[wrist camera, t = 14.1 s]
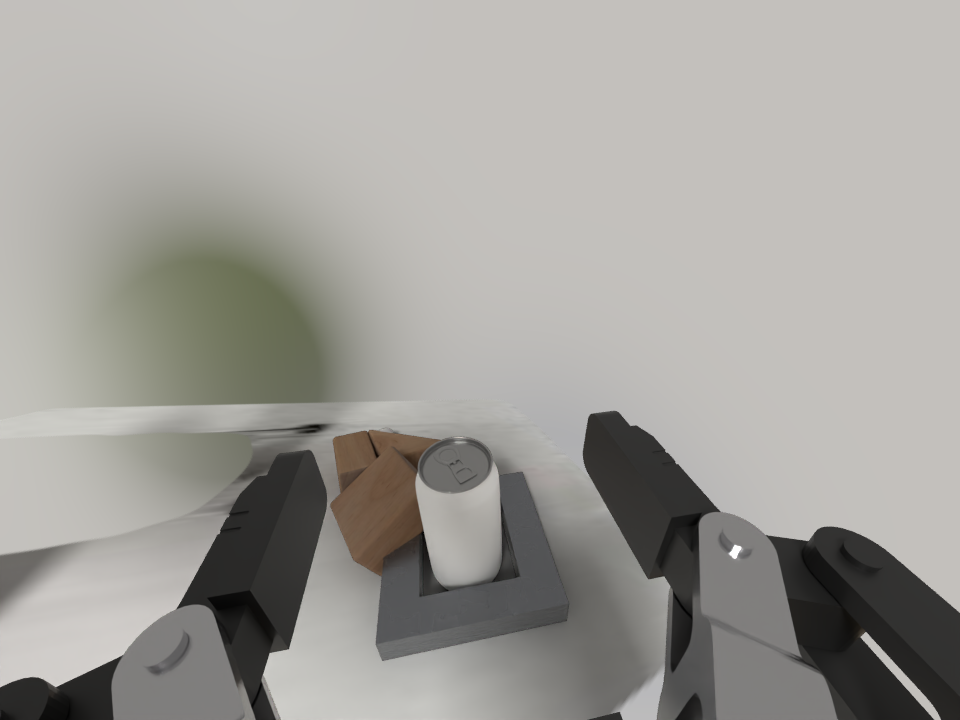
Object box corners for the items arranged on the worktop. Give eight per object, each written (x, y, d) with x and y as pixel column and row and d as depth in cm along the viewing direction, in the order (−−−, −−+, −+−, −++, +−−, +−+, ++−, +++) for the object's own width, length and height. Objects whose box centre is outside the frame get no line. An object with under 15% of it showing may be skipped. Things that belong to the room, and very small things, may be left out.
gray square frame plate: (382, 660, 25) (375, 644, 24) (393, 509, 36) (389, 493, 35) (566, 620, 26) (568, 603, 25) (521, 488, 38) (522, 471, 37)
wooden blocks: (428, 449, 49) (486, 539, 33) (328, 474, 43) (341, 597, 28) (426, 401, 47) (486, 474, 31) (320, 421, 41) (329, 523, 26)
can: (475, 515, 35) (467, 422, 29) (517, 565, 30) (516, 466, 25) (419, 552, 32) (397, 456, 26) (455, 614, 27) (438, 514, 22)
